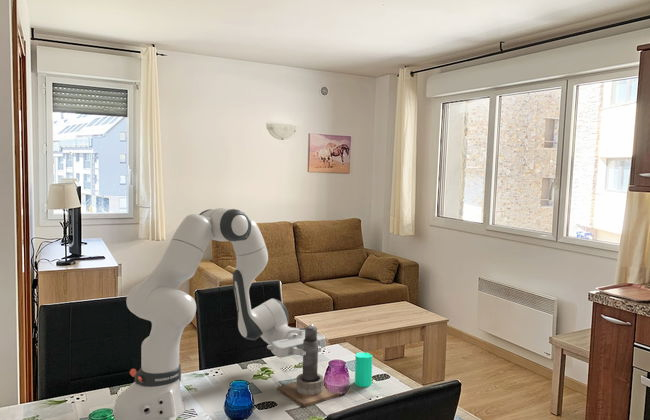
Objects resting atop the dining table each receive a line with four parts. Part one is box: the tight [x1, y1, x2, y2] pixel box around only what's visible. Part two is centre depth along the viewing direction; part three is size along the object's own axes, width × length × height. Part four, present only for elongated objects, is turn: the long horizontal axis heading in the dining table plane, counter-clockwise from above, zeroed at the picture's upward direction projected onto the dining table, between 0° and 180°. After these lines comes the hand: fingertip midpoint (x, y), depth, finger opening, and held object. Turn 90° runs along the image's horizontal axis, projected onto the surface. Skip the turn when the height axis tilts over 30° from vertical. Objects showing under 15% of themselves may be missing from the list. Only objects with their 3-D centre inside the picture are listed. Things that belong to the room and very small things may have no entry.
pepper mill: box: [302, 324, 319, 382], centre depth 170 cm, size 5×5×21 cm
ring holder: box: [276, 373, 340, 408], centre depth 171 cm, size 16×16×5 cm
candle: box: [354, 351, 373, 388], centre depth 179 cm, size 6×6×12 cm
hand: (312, 351), depth 169 cm, fingers closed on pepper mill, 5 cm apart
